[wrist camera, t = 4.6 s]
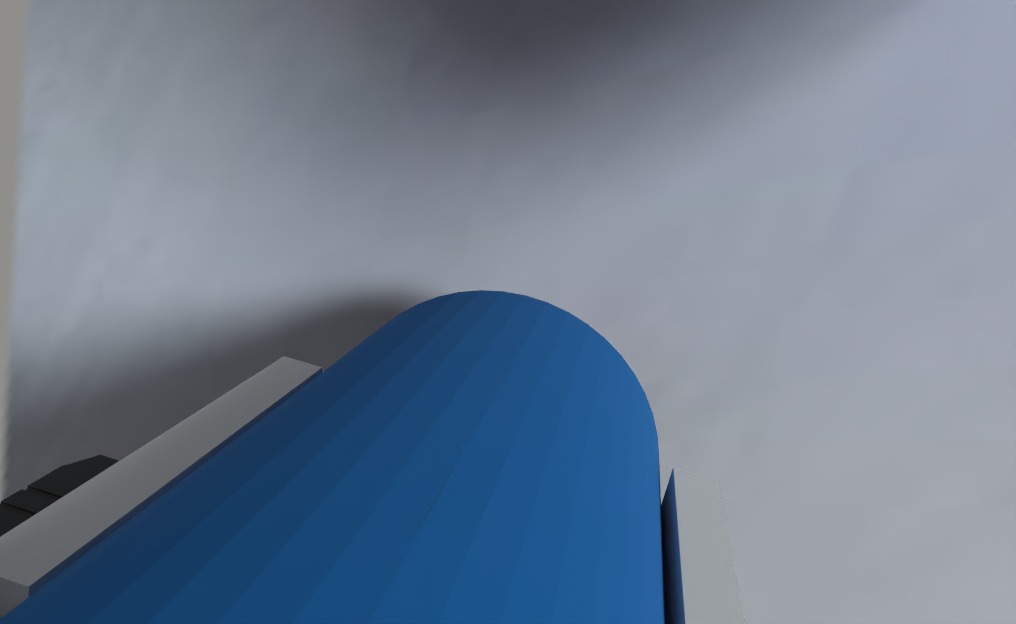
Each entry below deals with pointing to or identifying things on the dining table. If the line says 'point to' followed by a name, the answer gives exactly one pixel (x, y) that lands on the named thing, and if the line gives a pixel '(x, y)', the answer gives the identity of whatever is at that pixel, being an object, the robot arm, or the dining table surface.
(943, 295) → the dining table surface
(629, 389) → the beverage can
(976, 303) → the dining table surface
